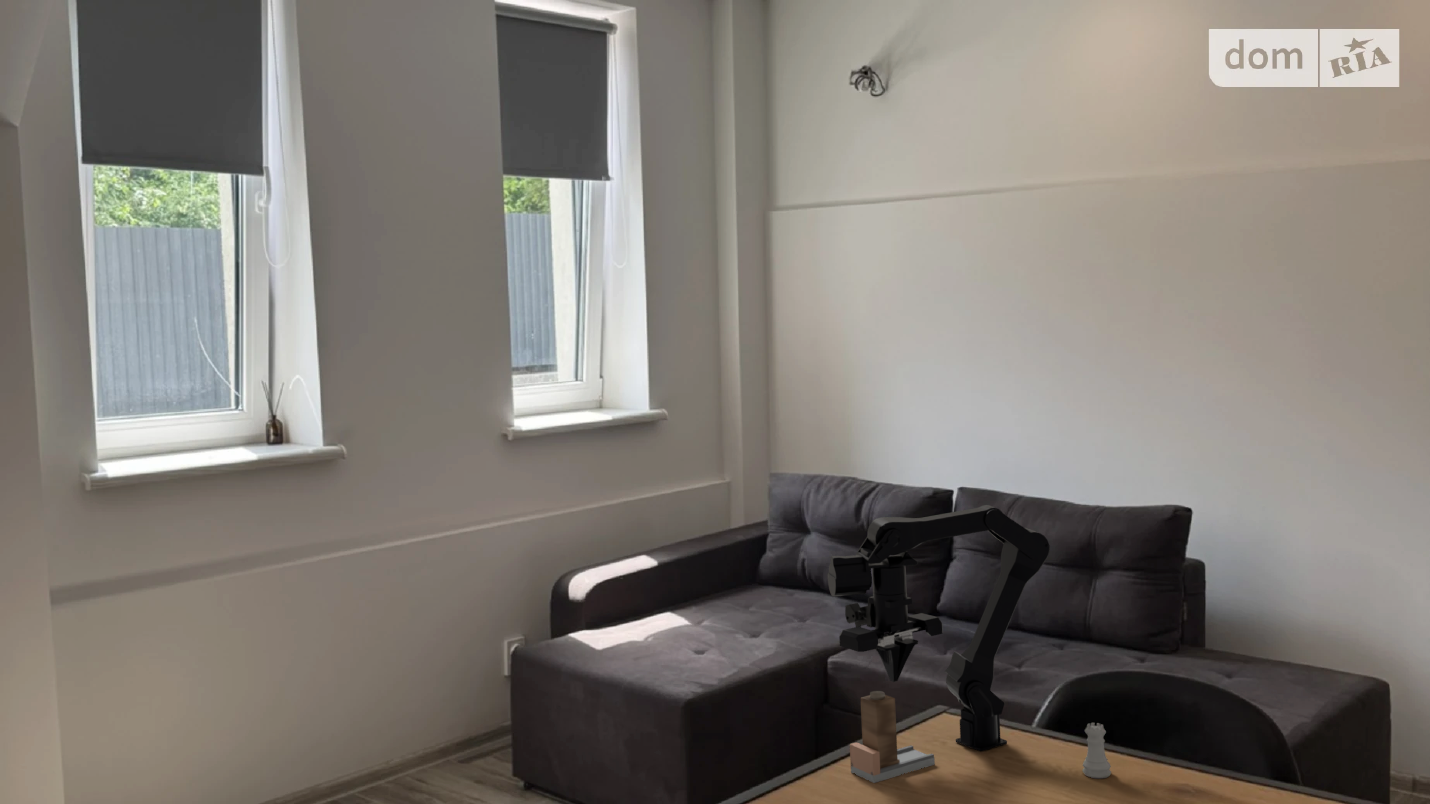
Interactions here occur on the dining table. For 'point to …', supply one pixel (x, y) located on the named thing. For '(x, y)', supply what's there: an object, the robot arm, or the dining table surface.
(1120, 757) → the dining table surface
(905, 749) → the rail
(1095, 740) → the rook chess piece
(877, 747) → the slider block with knob
